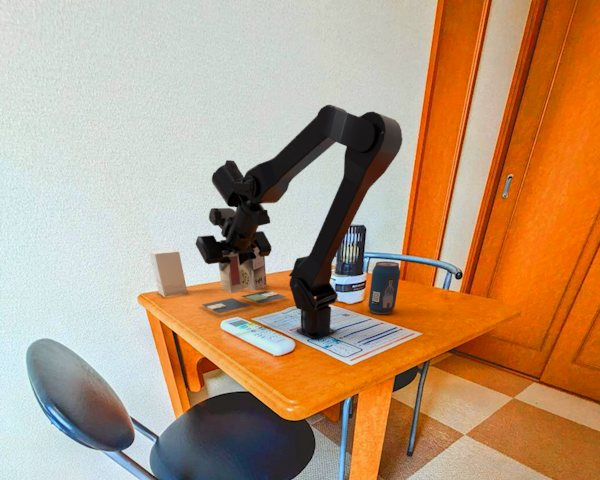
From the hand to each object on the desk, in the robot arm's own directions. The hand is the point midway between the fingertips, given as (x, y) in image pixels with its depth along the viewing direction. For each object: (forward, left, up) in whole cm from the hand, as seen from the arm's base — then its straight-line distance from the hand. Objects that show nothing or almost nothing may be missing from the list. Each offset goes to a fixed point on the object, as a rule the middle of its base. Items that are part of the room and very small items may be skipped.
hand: (226, 268), depth 84 cm
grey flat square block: (-1, -10, -10) cm, 15 cm away
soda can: (-32, -27, -4) cm, 42 cm away
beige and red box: (-1, 0, -6) cm, 6 cm away
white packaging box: (+24, +8, -10) cm, 27 cm away
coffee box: (+12, -14, -10) cm, 21 cm away
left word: (-1, +3, -10) cm, 10 cm away
